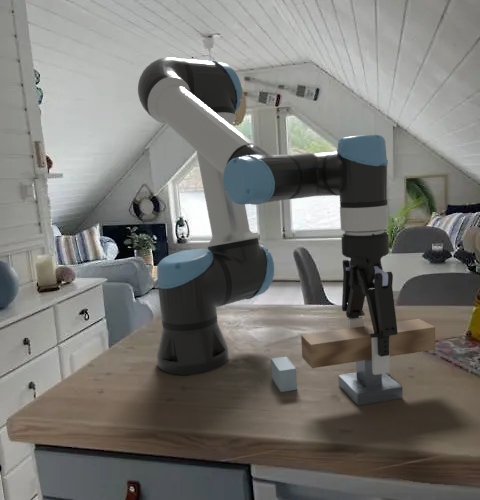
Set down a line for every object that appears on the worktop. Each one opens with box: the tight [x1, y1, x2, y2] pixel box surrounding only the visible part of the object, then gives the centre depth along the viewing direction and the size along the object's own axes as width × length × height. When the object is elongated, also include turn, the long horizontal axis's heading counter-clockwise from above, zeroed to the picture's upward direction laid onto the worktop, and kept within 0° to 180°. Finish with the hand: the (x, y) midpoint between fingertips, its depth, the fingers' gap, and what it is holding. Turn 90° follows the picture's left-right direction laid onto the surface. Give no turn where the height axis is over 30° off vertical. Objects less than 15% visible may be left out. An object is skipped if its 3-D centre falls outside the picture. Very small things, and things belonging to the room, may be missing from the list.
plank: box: [300, 318, 436, 369], centre depth 83 cm, size 22×5×4 cm, turn 101°
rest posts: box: [270, 356, 391, 393], centre depth 92 cm, size 21×6×4 cm, turn 101°
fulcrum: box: [338, 359, 404, 407], centre depth 84 cm, size 8×8×7 cm
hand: (368, 362), depth 84 cm, fingers open, 8 cm apart
